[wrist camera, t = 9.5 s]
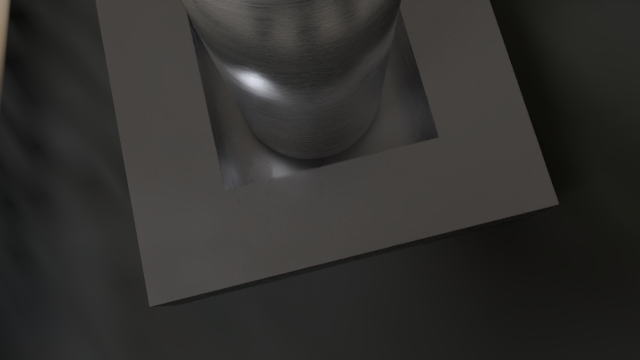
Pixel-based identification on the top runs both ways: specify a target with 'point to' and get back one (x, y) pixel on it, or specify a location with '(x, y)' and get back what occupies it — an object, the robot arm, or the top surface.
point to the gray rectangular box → (320, 173)
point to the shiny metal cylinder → (301, 66)
